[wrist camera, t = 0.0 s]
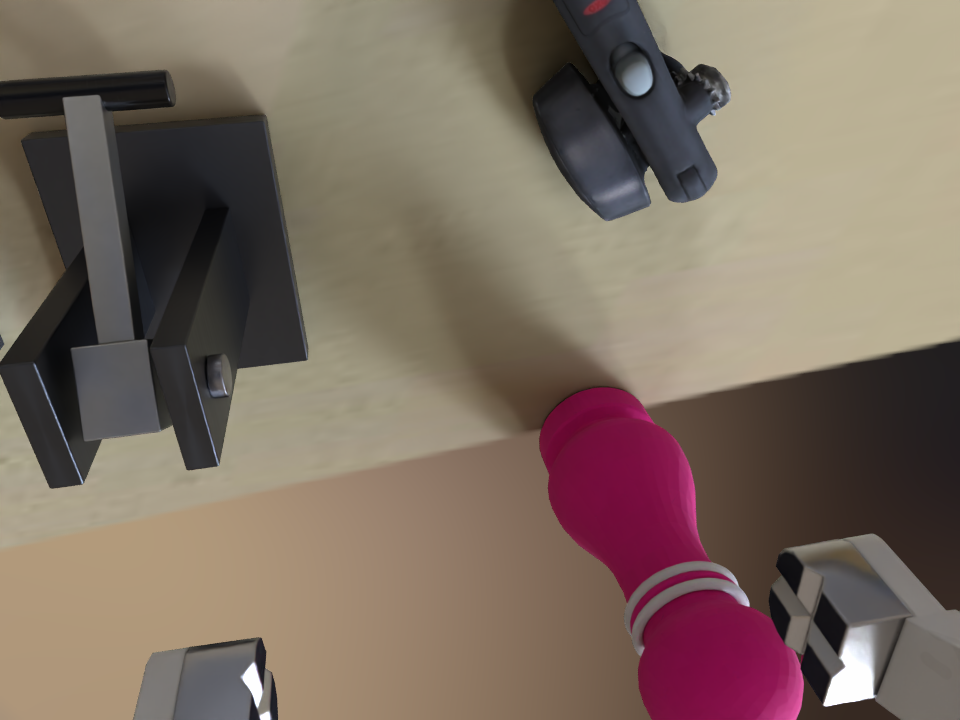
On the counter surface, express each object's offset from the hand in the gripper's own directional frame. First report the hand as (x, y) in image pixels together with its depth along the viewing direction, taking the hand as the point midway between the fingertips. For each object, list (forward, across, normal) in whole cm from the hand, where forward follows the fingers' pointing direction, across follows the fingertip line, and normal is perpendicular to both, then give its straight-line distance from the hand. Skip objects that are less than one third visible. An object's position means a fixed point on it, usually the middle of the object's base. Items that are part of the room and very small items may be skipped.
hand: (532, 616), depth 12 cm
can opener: (+25, -7, -6) cm, 27 cm away
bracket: (+25, +10, +3) cm, 27 cm away
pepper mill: (+25, -9, +16) cm, 31 cm away
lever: (+17, +10, 0) cm, 19 cm away
